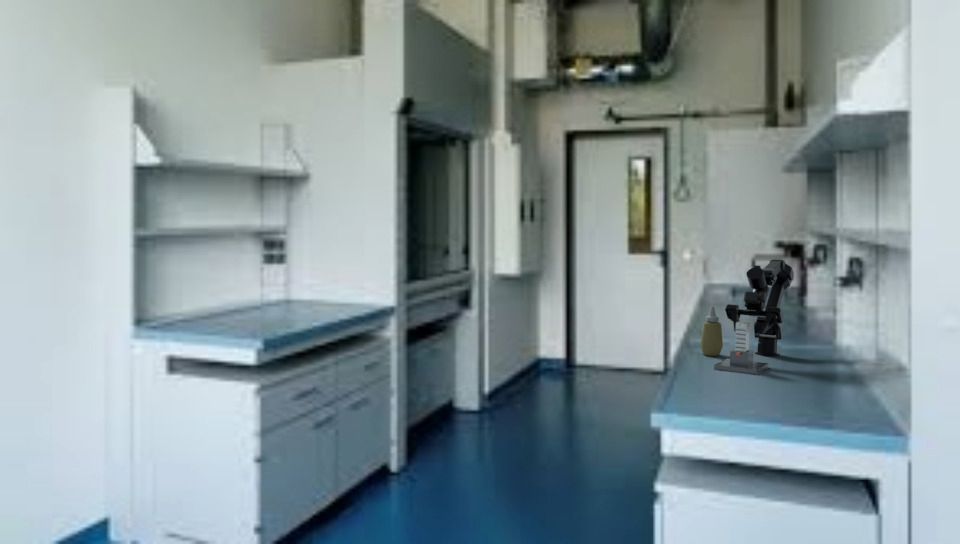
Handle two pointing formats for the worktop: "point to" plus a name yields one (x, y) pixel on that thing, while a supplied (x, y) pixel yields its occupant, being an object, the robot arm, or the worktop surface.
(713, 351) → the squeeze bottle
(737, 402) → the worktop surface
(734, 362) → the stand
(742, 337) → the block
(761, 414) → the worktop surface
